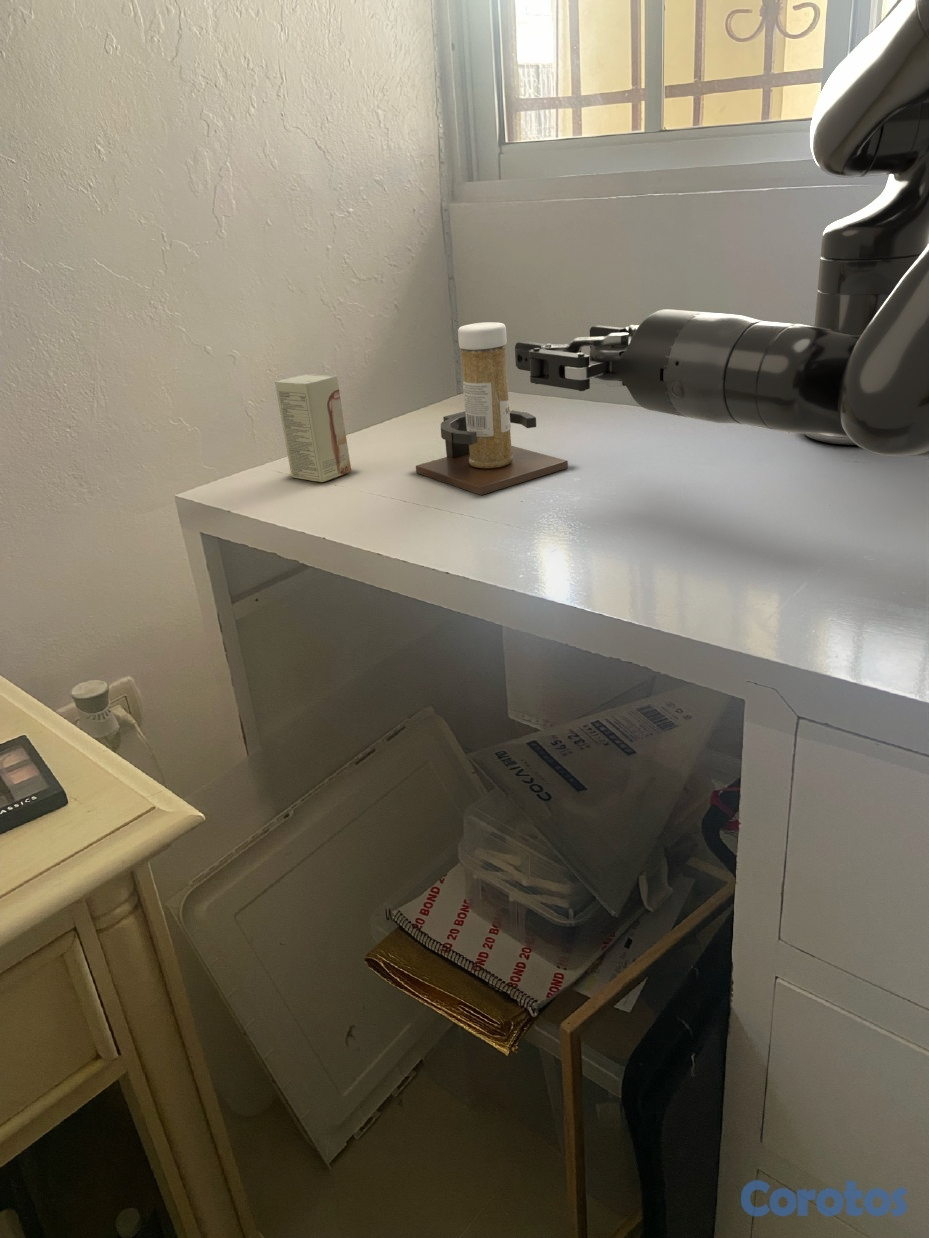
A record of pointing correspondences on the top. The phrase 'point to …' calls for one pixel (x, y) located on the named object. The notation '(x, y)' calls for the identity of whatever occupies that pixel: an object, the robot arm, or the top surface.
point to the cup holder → (480, 479)
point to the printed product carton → (313, 426)
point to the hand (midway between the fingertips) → (556, 346)
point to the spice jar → (486, 393)
